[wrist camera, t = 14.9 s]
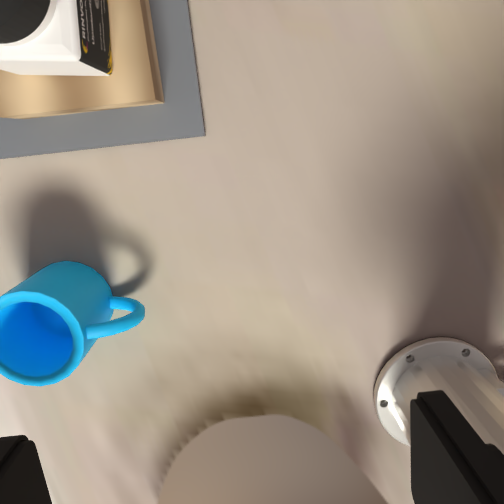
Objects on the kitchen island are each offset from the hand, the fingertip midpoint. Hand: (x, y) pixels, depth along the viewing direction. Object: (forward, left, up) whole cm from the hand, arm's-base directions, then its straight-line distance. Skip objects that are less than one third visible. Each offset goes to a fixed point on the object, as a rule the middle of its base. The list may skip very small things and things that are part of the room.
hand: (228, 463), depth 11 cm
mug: (+15, +6, -31) cm, 35 cm away
